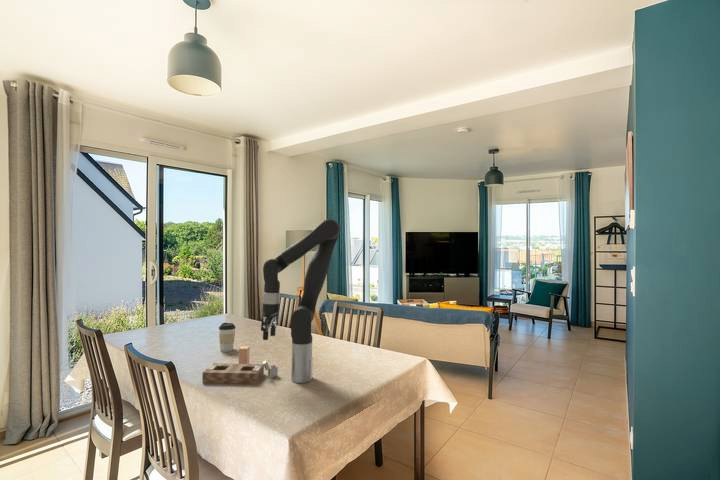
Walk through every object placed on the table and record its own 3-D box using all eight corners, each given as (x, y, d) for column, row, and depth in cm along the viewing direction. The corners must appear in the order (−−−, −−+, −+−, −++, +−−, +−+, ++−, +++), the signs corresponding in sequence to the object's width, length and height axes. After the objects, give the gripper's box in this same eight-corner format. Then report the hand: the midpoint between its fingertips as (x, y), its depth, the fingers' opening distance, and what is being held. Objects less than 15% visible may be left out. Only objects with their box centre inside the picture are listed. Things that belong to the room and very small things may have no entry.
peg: (249, 366, 185) (249, 346, 185) (246, 369, 181) (247, 348, 181) (241, 366, 185) (241, 346, 185) (238, 368, 181) (238, 348, 181)
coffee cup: (238, 349, 211) (238, 323, 211) (223, 353, 205) (223, 326, 205) (230, 346, 217) (230, 321, 217) (215, 349, 211) (215, 323, 211)
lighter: (275, 374, 174) (276, 358, 174) (277, 375, 172) (278, 358, 172) (262, 378, 169) (262, 361, 169) (263, 379, 168) (264, 362, 168)
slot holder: (263, 373, 175) (263, 363, 175) (256, 383, 163) (256, 372, 163) (213, 372, 175) (213, 362, 175) (202, 382, 163) (202, 371, 163)
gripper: (273, 304, 161) (270, 342, 161) (284, 301, 176) (282, 335, 175) (256, 303, 163) (254, 340, 162) (269, 300, 177) (267, 334, 176)
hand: (269, 337), depth 168 cm, fingers open, 8 cm apart
